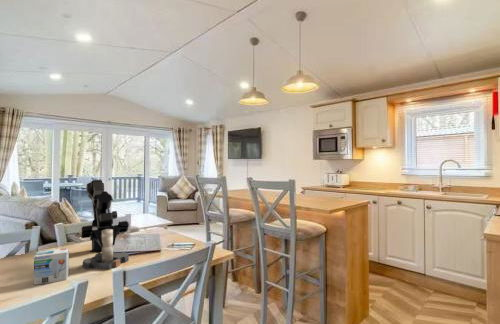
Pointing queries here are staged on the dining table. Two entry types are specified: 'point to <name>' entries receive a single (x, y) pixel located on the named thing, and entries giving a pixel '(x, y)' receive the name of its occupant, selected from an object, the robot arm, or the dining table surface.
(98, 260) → the pixel heart plate
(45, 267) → the light bulb box
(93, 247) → the robot arm
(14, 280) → the dining table surface
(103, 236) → the pin
